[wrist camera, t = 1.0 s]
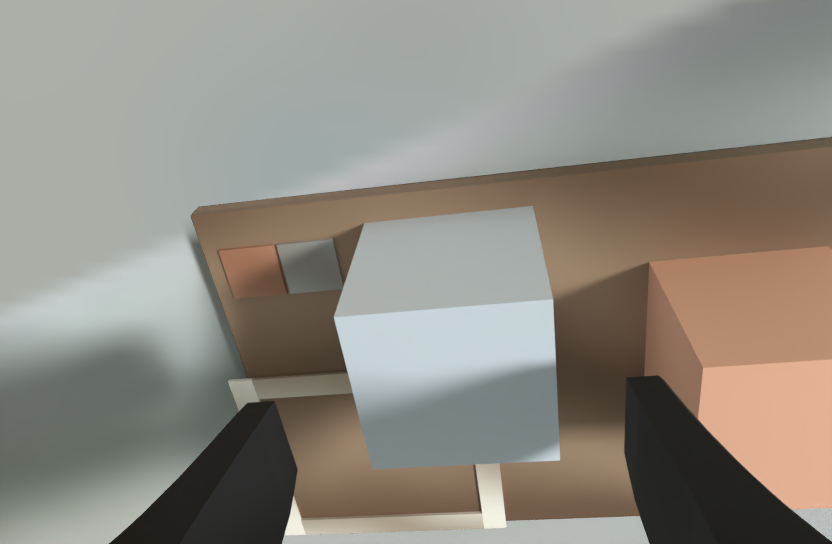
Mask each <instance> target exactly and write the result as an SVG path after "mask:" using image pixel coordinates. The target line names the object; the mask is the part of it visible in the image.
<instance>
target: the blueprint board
mask: <svg viewBox="0 0 832 544" xmlns="http://www.w3.org/2000/svg"><path fill="white" fill-rule="evenodd" d="M527 206H533V209H534V213H535V218H536V223H537V227H538V232H539V236H540V241H541V246H542V250H543V255H544V259H545V264H546V269H547V273H548V278H549V283H550V287H551V292H552V296H553V308H554V330H555V353H556V376H557V399H558V421H559V444H560V460H559V461H538V462H518V463H497V464H476V465H455V466H435V467H414V468H393V469H372V467H371V463H370V459H369V455H368V451H367V447H366V443H365V439H364V435H363V431H362V427H361V423H360V419H359V415H358V411H357V407H356V403H355V399H354V396H353V392H352V388H351V384H350V380H349V376H348V372H347V368H346V364H345V360H344V356H343V352H342V348H341V344H340V340H339V336H338V332H337V328H336V324H335V320H334V315H335V312H336V309H337V306H338V303H339V300H340V296H341V293H342V290H343V287H344V284H345V281H346V278H347V275H348V272H349V269H350V266H351V263H352V260H353V256H354V253H355V250H356V247H357V244H358V241H359V238H360V235H361V232H362V229H363V226H364V223H370V222H380V221H390V220H400V219H409V218H419V217H429V216H439V215H449V214H458V213H468V212H478V211H488V210H498V209H507V208H517V207H527ZM191 219H192V222H193V225H194V227H195V230H196V233H197V236H198V239H199V241H200V244H201V247H202V250H203V253H204V256H205V258H206V261H207V264H208V267H209V270H210V273H211V275H212V278H213V281H214V284H215V287H216V289H217V292H218V295H219V298H220V301H221V304H222V306H223V309H224V312H225V315H226V318H227V320H228V323H229V326H230V329H231V332H232V335H233V337H234V340H235V343H236V346H237V349H238V351H239V354H240V357H241V360H242V363H243V366H244V368H245V371H246V374H247V377H248V378H247V379H233V380H228V384H229V386H230V389H231V392H232V394H233V397H234V400H235V402H236V405H237V408H238V410H239V411H240V410H241V409H242V408H243V407H244V406H245V405H246V404H247V403H251V402H266V401H275V403H276V406H277V409H278V412H279V415H280V418H281V421H282V424H283V427H284V430H285V433H286V436H287V439H288V442H289V445H290V448H291V451H292V454H293V457H294V460H295V463H296V466H297V469H298V471H297V477H296V484H295V490H294V496H293V501H292V507H291V512H290V517H289V520H288V524H287V527H286V531H285V535H309V534H338V533H367V532H396V531H425V530H454V529H483V528H506V521H512V520H540V519H567V518H595V517H623V516H640V514H639V511H638V508H637V505H636V502H635V499H634V494H633V490H632V486H631V481H630V477H629V472H628V468H627V463H626V459H625V454H624V440H625V403H626V377H640V376H644V370H645V348H646V325H647V303H648V280H649V262H654V261H666V260H677V259H688V258H700V257H711V256H723V255H734V254H745V253H757V252H768V251H779V250H791V249H802V248H813V247H825V246H829V247H830V248H831V249H832V137H831V138H821V139H812V140H803V141H794V142H785V143H776V144H767V145H758V146H748V147H739V148H730V149H721V150H712V151H703V152H694V153H685V154H675V155H666V156H657V157H648V158H639V159H630V160H621V161H611V162H602V163H593V164H584V165H575V166H566V167H557V168H548V169H538V170H529V171H520V172H511V173H502V174H493V175H484V176H475V177H465V178H456V179H447V180H438V181H429V182H420V183H411V184H402V185H392V186H383V187H374V188H365V189H356V190H347V191H338V192H329V193H319V194H310V195H301V196H292V197H283V198H274V199H265V200H256V201H246V202H238V203H228V204H219V205H210V206H201V207H198V208H197V209H196V210H195V211H194V212H193V213H192V215H191Z"/></svg>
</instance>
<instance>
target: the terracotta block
mask: <svg viewBox="0 0 832 544" xmlns="http://www.w3.org/2000/svg"><path fill="white" fill-rule="evenodd" d="M655 375H659V376H660V377H661V378H662V379H664V380H665V382H666V383H667V384H668V385H669V386H670V388H671V389H672V390H673V391H674V392H675V394H676V395H677V396H678V397H679V398H680V400H681V401H682V402H683V403H684V404H685V405H686V406H687V408H688V409H689V410H690V411H691V412H692V413H693V414H694V415H695V417H696V418H697V419H698V420H699V421H700V422H701V423H702V424H703V425H704V427H705V428H706V429H707V430H708V431H709V432H710V433H711V434H712V435H713V436H714V437H715V438H716V439H717V440H718V441H719V442H720V443H721V444H722V445H723V446H724V447H725V448H726V449H727V450H728V451H729V452H730V453H731V454H732V455H733V457H734V458H735V459H736V460H737V461H739V462H740V463H741V464H742V465H743V466H744V467H745V468H746V469H747V470H748V471H749V472H750V473H751V474H752V475H753V476H754V477H755V478H756V479H757V480H759V481H760V482H761V483H762V484H763V485H764V486H765V487H766V488H767V489H768V490H769V491H771V492H772V493H773V494H774V495H775V496H776V497H777V498H778V499H780V500H781V501H782V502H783V503H784V504H785V505H787V506H788V507H789V508H790V509H811V508H832V249H831V248H830V247H829V246H825V247H813V248H802V249H791V250H779V251H768V252H757V253H745V254H734V255H723V256H711V257H700V258H688V259H677V260H666V261H654V262H649V280H648V303H647V325H646V348H645V370H644V376H655Z"/></svg>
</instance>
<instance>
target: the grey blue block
mask: <svg viewBox="0 0 832 544" xmlns="http://www.w3.org/2000/svg"><path fill="white" fill-rule="evenodd" d="M334 320H335V324H336V328H337V332H338V336H339V340H340V344H341V348H342V352H343V356H344V360H345V364H346V368H347V372H348V376H349V380H350V384H351V388H352V392H353V396H354V399H355V403H356V407H357V411H358V415H359V419H360V423H361V427H362V431H363V435H364V439H365V443H366V447H367V451H368V455H369V459H370V463H371V467H372V469H393V468H414V467H435V466H455V465H476V464H497V463H518V462H538V461H559V460H560V444H559V421H558V399H557V376H556V353H555V330H554V308H553V296H552V292H551V287H550V283H549V278H548V273H547V269H546V264H545V259H544V255H543V250H542V246H541V241H540V236H539V232H538V227H537V223H536V218H535V213H534V209H533V206H527V207H517V208H507V209H498V210H488V211H478V212H468V213H458V214H449V215H439V216H429V217H419V218H409V219H400V220H390V221H380V222H370V223H364V226H363V229H362V232H361V235H360V238H359V241H358V244H357V247H356V250H355V253H354V256H353V260H352V263H351V266H350V269H349V272H348V275H347V278H346V281H345V284H344V287H343V290H342V293H341V296H340V300H339V303H338V306H337V309H336V312H335V315H334Z"/></svg>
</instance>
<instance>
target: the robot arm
mask: <svg viewBox="0 0 832 544" xmlns="http://www.w3.org/2000/svg"><path fill="white" fill-rule="evenodd" d="M624 454H625V459H626V463H627V468H628V472H629V477H630V481H631V486H632V490H633V494H634V499H635V502H636V505H637V508H638V511H639V514H640V517H641V520H642V523H643V526H644V529H645V532H646V534H647V537H648V540H649V543H650V544H832V542H831V541H830V540H829V539H827V538H826V537H825V536H823V535H822V534H821V533H820V532H818V531H817V530H816V529H815V528H813V527H812V526H811V525H810V524H808V523H807V522H806V521H805V520H803V519H802V518H801V517H800V516H798V515H797V514H796V513H795V512H794V511H792V510H791V509H790V508H789V507H788V506H787V505H785V504H784V503H783V502H782V501H781V500H780V499H778V498H777V497H776V496H775V495H774V494H773V493H772V492H771V491H769V490H768V489H767V488H766V487H765V486H764V485H763V484H762V483H761V482H760V481H759V480H757V479H756V478H755V477H754V476H753V475H752V474H751V473H750V472H749V471H748V470H747V469H746V468H745V467H744V466H743V465H742V464H741V463H740V462H739V461H737V460H736V459H735V458H734V457H733V455H732V454H731V453H730V452H729V451H728V450H727V449H726V448H725V447H724V446H723V445H722V444H721V443H720V442H719V441H718V440H717V439H716V438H715V437H714V436H713V435H712V434H711V433H710V432H709V431H708V430H707V429H706V428H705V427H704V425H703V424H702V423H701V422H700V421H699V420H698V419H697V418H696V417H695V415H694V414H693V413H692V412H691V411H690V410H689V409H688V408H687V406H686V405H685V404H684V403H683V402H682V401H681V400H680V398H679V397H678V396H677V395H676V394H675V392H674V391H673V390H672V389H671V388H670V386H669V385H668V384H667V383H666V382H665V380H664V379H662V378H661V377H660V376H659V375H655V376H640V377H626V403H625V440H624ZM297 471H298V469H297V466H296V463H295V460H294V457H293V454H292V451H291V448H290V445H289V442H288V439H287V436H286V433H285V430H284V427H283V424H282V421H281V418H280V415H279V412H278V409H277V406H276V403H275V401H266V402H251V403H247V404H246V405H245V406H244V407H243V408H242V409H241V410H240V411H239V412H238V413H237V414H236V415H235V416H234V418H233V419H232V420H231V421H230V422H229V423H228V424H227V425H226V427H225V428H224V429H223V430H222V431H221V432H220V433H219V434H218V435H217V437H216V438H215V439H214V440H213V441H212V442H211V443H210V444H209V446H208V447H207V448H206V449H205V450H204V451H203V452H202V453H201V454H200V455H199V456H198V457H197V459H196V460H195V461H194V462H193V463H192V464H191V465H190V466H189V467H188V468H187V469H186V470H185V472H184V473H183V474H182V475H181V476H180V477H179V478H178V479H177V480H176V481H175V482H174V483H173V484H172V485H171V486H170V487H169V488H168V489H167V490H166V491H165V492H164V493H163V494H162V495H161V496H160V497H159V498H158V499H157V500H156V501H155V502H154V503H153V504H152V505H151V506H150V507H149V508H148V509H147V510H146V511H145V512H144V513H143V514H142V515H141V516H140V517H139V518H137V519H136V520H135V521H134V522H133V523H132V524H131V525H130V526H129V527H128V528H127V529H125V530H124V531H123V532H122V533H121V534H120V535H119V536H118V537H116V538H115V539H114V540H113V541H112V542H111V543H109V544H282V541H283V537H284V534H285V531H286V527H287V524H288V520H289V517H290V512H291V507H292V501H293V496H294V490H295V484H296V477H297Z"/></svg>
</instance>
